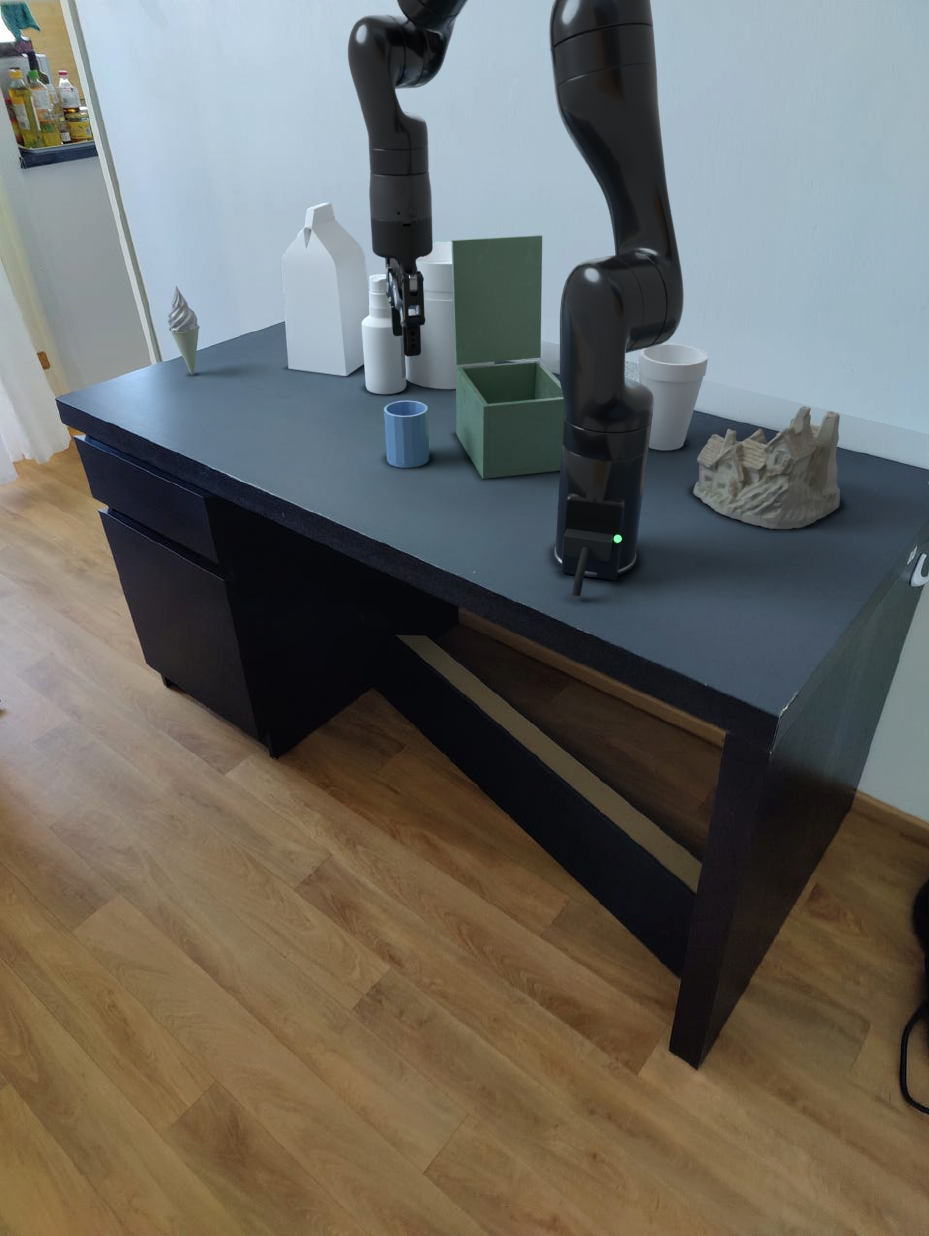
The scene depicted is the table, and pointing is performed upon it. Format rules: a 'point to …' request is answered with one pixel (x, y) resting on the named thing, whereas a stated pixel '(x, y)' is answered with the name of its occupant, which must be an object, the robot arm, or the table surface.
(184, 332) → the ice cream cone
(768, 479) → the ceramic cottage
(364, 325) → the spray bottle
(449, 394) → the table surface
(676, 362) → the foam cup
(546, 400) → the green box
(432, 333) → the canister
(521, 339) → the lid
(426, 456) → the cup
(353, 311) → the milk
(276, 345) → the table surface
